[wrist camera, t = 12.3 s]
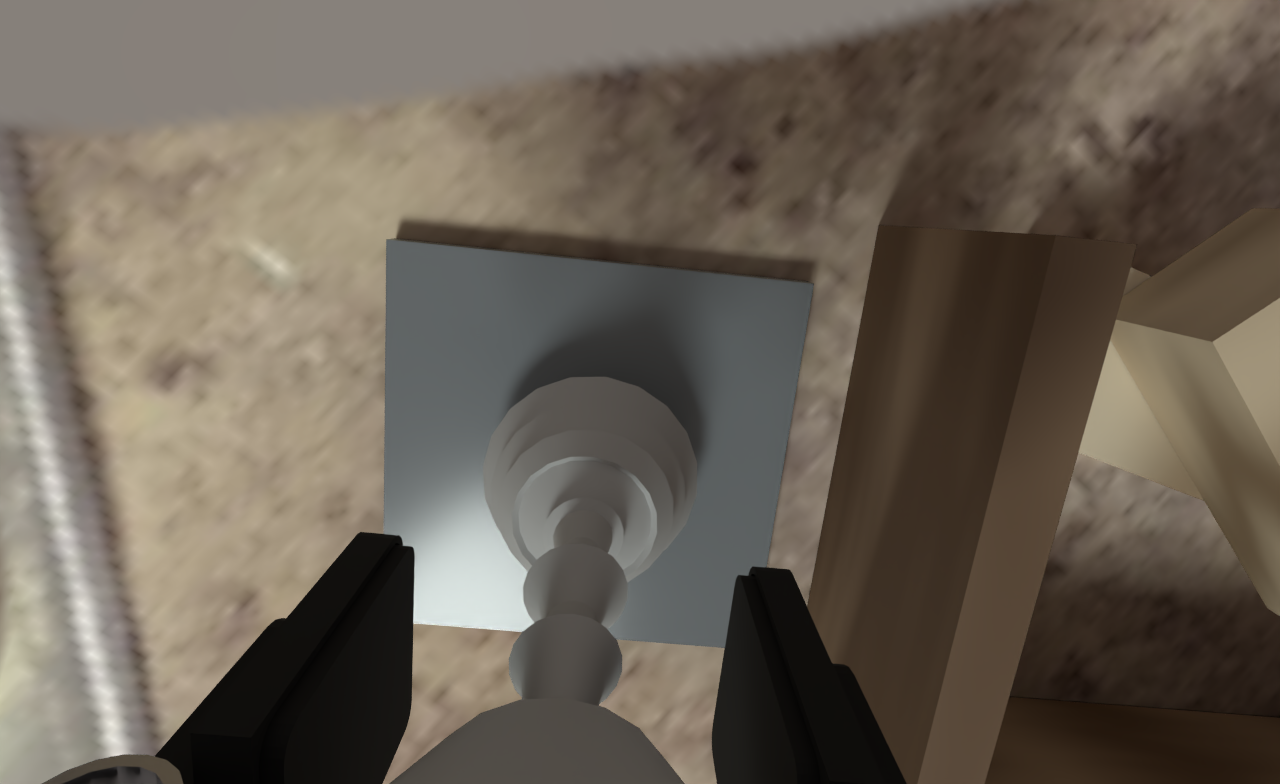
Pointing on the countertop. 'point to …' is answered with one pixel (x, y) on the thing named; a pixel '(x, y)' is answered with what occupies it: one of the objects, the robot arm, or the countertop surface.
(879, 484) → the brown wooden u-shaped frame
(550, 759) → the chalice
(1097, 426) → the offcut lower
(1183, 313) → the offcut upper
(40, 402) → the countertop surface
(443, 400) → the slate tile
